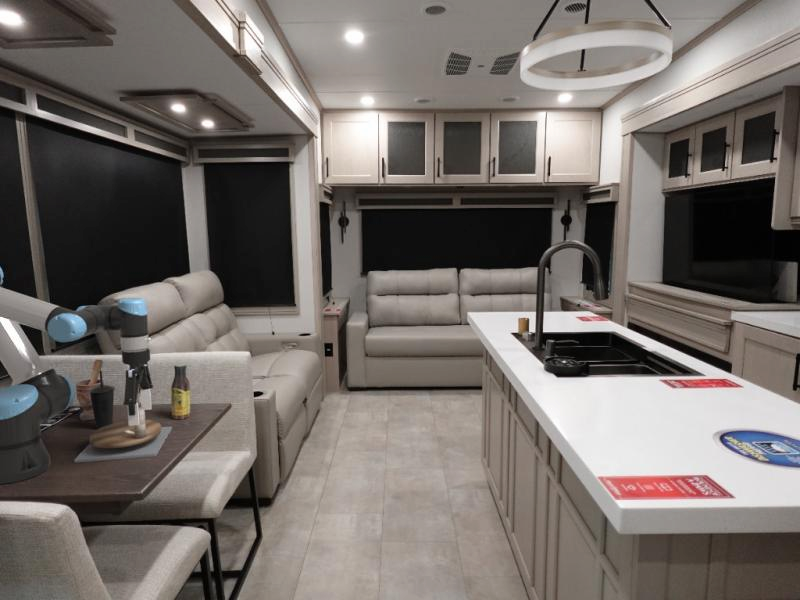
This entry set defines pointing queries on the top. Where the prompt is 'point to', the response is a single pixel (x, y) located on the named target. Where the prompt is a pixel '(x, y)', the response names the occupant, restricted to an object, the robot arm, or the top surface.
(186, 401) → the sauce bottle
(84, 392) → the mortar and pestle
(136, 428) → the handwheel
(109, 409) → the drinking cup
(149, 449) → the wheel stand
